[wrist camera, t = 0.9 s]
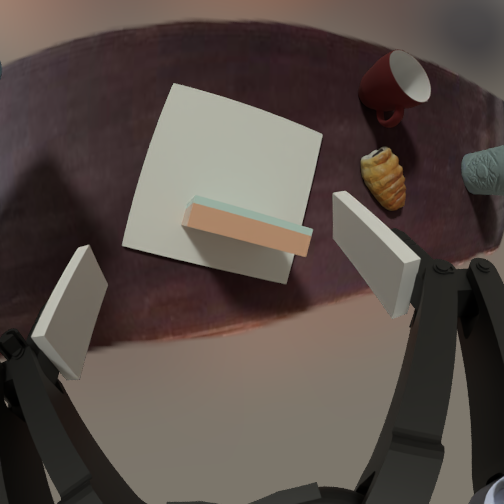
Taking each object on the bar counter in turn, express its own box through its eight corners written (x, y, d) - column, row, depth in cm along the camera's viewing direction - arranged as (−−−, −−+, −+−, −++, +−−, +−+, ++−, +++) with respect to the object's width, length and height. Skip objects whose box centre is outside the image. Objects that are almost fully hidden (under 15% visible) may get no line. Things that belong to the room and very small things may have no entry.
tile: (181, 225, 32) (186, 226, 21) (186, 204, 32) (195, 194, 21) (264, 246, 35) (305, 257, 24) (269, 226, 35) (312, 229, 24)
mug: (391, 140, 40) (438, 126, 30) (351, 131, 37) (397, 112, 28) (383, 81, 39) (424, 60, 29) (343, 69, 36) (383, 41, 27)
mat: (122, 245, 31) (121, 245, 30) (173, 85, 30) (173, 83, 30) (284, 283, 37) (286, 284, 36) (320, 135, 36) (322, 134, 36)
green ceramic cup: (455, 173, 45) (504, 169, 33) (465, 140, 46) (509, 132, 34) (475, 206, 48) (520, 207, 36) (484, 173, 48) (526, 170, 37)
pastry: (405, 197, 41) (422, 197, 38) (379, 220, 40) (396, 220, 37) (379, 144, 39) (395, 139, 36) (351, 163, 38) (367, 159, 35)
